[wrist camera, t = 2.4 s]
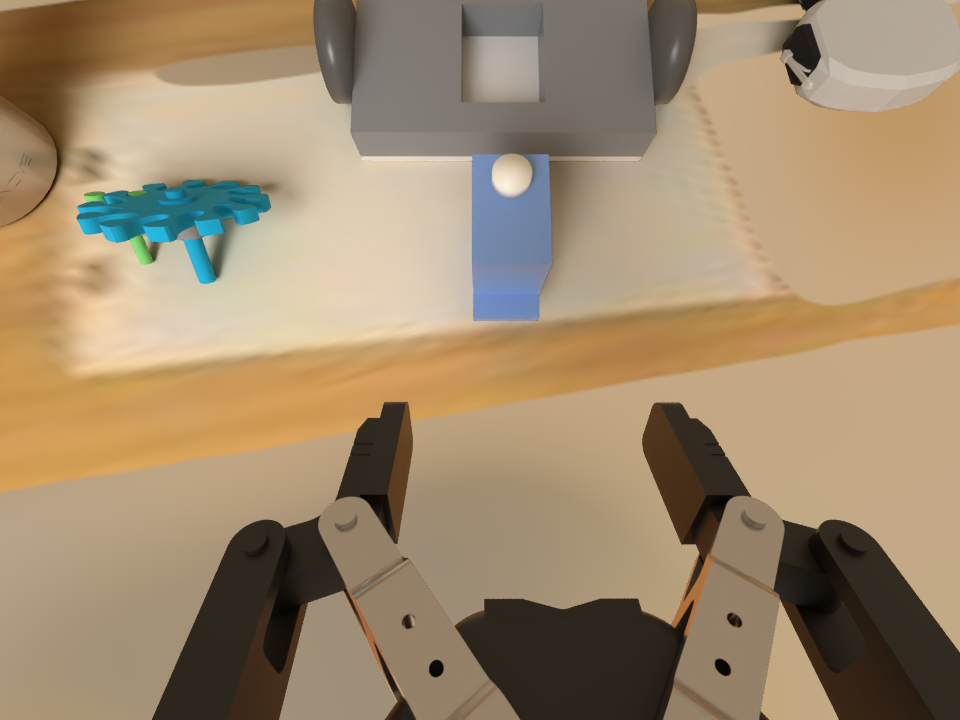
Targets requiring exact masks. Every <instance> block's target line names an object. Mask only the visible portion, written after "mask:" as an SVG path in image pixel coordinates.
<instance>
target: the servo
mask: <svg viewBox="0 0 960 720" xmlns="http://www.w3.org/2000/svg"><path fill="white" fill-rule="evenodd" d="M551 266H552V238H551V205H550V171H549V154H513V153H511V154H472V273H473V321H538V319H539V292H540V290H541V288H542V286H543V284H544V281H545V279H546V277H547V275H548V273H549V270H550V268H551Z"/></svg>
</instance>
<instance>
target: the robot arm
mask: <svg viewBox="0 0 960 720" xmlns="http://www.w3.org/2000/svg"><path fill="white" fill-rule="evenodd" d="M56 168H57V151H56V147H55V144H54V141H53V139H52V137H51V136H50V134H49V133H48V131H47V129H46V128H44V127H43V126H42V125H41V124H40V123H39V122H38V121H37V120H35V119H34V118H32V117H31V116H29V115H28V114H27V113H25V112H24V111H22V110H21V109H19V108H18V107H16V106H15V105H14V104H12V103H11V102H9V101H8V100H6V99H5V98H4V97H2V96H1V95H0V226H4V225H7V224H10V223H12V222H14V221H16V220H18V219H20V218H22V217H23V216H24V215H26V214H27V213H28V212H30V211H31V210H33V209H34V208H35V207H36V206H37V205H38V203H39V202H40V201H41V200H42V199H43V198H44V196H45V195H46V193H47V192H48V190H49V189H50V187H51V185H52V182H53V180H54V177H55V174H56ZM642 445H643V451H644V455H645V457H646V460H647V462H648V464H649V467H650V469H651V472H652V474H653V476H654V479H655V481H656V484H657V486H658V489H659V491H660V494H661V496H662V498H663V501H664V503H665V506H666V508H667V511H668V513H669V515H670V518H671V520H672V523H673V525H674V528H675V530H676V532H677V535H678V537H679V540H680V542H681V544H696V546H697V548H698V551H699V554H698V556H697V558H696V560H695V563H694V566H693V569H692V572H691V574H690V577H689V580H688V583H687V586H686V588H685V591H684V594H683V597H682V600H681V602H680V605H679V608H678V610H677V613H676V615H675V617H674V619H673V621H672V623H671V625H670V624H668V623H667V622H665V621H664V620H662V619H660V618H658V617H656V616H654V615H651V614H649V613H646V612H643V611H641V607H640V604H639V600H638V599H598V600H595V601H592V602H588V603H585V604H582V605H578V606H575V607H571V608H568V609H558V608H554V607H550V606H546V605H543V604H539V603H535V602H531V601H528V600H524V599H485V600H484V611H480V612H477V613H475V614H472V615H470V616H468V617H467V618H465V619H463V620H462V621H460V622H459V623H457V624H456V625H455V626H454V625H453V623H452V622H451V620H450V619H449V617H448V616H447V614H446V613H445V611H444V610H443V608H442V606H441V605H440V603H439V602H438V601H437V599H436V597H435V596H434V594H433V593H432V591H431V590H430V588H429V587H428V585H427V584H426V582H425V581H424V579H423V578H422V576H421V575H420V573H419V571H418V570H417V569H416V567H415V565H414V564H413V563H412V562H411V560H410V559H408V558H404V557H403V556H402V555H401V553H400V552H399V550H398V549H397V547H396V545H395V544H397V543H398V537H399V531H400V525H401V518H402V512H403V506H404V500H405V494H406V488H407V482H408V475H409V469H410V463H411V456H412V449H413V435H412V427H411V419H410V411H409V405H408V402H385V403H384V405H383V408H382V412H381V416H380V418H368V419H367V420H366V421H365V422H364V423H363V424H362V426H361V427H360V428H359V429H358V431H357V434H356V438H355V441H354V445H353V447H352V450H351V453H350V457H349V460H348V463H347V466H346V469H345V472H344V476H343V479H342V482H341V485H340V489H339V492H338V495H337V497H336V500H335V501H334V502H333V503H331V504H330V505H329V506H328V507H327V508H326V509H325V510H324V511H323V513H322V514H321V515H320V516H318V517H317V518H315V519H312V520H310V521H307V522H303V523H300V524H297V525H293V526H290V527H287V528H283V526H282V525H281V524H280V523H278V522H276V521H273V520H261V521H257V522H254V523H251V524H249V525H247V526H246V527H244V528H243V529H241V530H240V531H239V532H238V533H237V534H236V535H235V536H234V537H233V538H232V540H231V541H230V543H229V545H228V547H227V549H226V551H225V554H224V556H223V558H222V560H221V563H220V565H219V567H218V570H217V572H216V574H215V576H214V579H213V581H212V583H211V586H210V588H209V590H208V593H207V595H206V597H205V599H204V602H203V604H202V606H201V608H200V611H199V613H198V615H197V618H196V620H195V623H194V624H193V627H192V629H191V631H190V634H189V636H188V638H187V641H186V643H185V645H184V647H183V650H182V652H181V654H180V656H179V659H178V661H177V664H176V666H175V668H174V670H173V673H172V675H171V677H170V679H169V682H168V684H167V686H166V689H165V691H164V693H163V695H162V698H161V700H160V703H159V705H158V707H157V709H156V711H155V714H154V716H153V718H152V720H279V717H280V713H281V709H282V705H283V701H284V697H285V693H286V689H287V685H288V681H289V677H290V673H291V669H292V665H293V661H294V657H295V653H296V649H297V645H298V641H299V637H300V633H301V629H302V624H303V620H304V616H305V613H306V608H307V604H308V602H311V601H314V600H317V599H320V598H323V597H326V596H329V595H331V594H334V593H337V592H340V591H343V593H344V595H345V597H346V599H347V601H348V603H349V605H350V607H351V609H352V611H353V613H354V615H355V617H356V619H357V621H358V623H359V625H360V627H361V629H362V631H363V633H364V635H365V637H366V639H367V641H368V643H369V646H370V648H371V650H372V652H373V654H374V657H375V659H376V661H377V664H378V665H379V668H380V670H381V672H382V674H383V676H384V678H385V680H386V682H387V684H388V686H389V688H390V690H391V692H392V694H393V696H394V698H395V700H396V702H397V703H396V704H395V706H394V707H393V709H392V710H391V712H390V713H389V714H388V716H387V717H386V719H385V720H769V719H768V718H767V717H766V716H765V715H764V714H763V713H762V712H761V705H762V699H763V694H764V688H765V682H766V677H767V671H768V664H769V659H770V654H771V648H772V642H773V637H774V631H775V625H776V619H777V614H778V608H779V600H781V602H782V604H783V606H784V608H785V610H786V612H787V615H788V617H789V619H790V621H791V623H792V625H793V627H794V629H795V631H796V633H797V635H798V637H799V639H800V641H801V643H802V645H803V647H804V649H805V651H806V653H807V655H808V657H809V659H810V661H811V663H812V665H813V667H814V669H815V672H816V674H817V676H818V678H819V680H820V682H821V684H822V686H823V688H824V690H825V692H826V694H827V696H828V698H829V700H830V702H831V704H832V706H833V708H834V710H835V712H836V714H837V716H838V718H839V720H960V652H959V651H958V649H957V648H956V647H955V645H954V644H953V643H952V642H951V640H950V639H949V637H948V636H947V635H946V633H945V632H944V631H943V629H942V628H941V627H940V625H939V624H938V623H937V621H936V620H935V619H934V617H933V616H932V615H931V613H930V612H929V611H928V609H927V608H926V607H925V605H924V604H923V603H922V601H921V600H920V599H919V597H918V596H917V595H916V593H915V592H914V591H913V589H912V588H911V586H910V585H909V584H908V583H907V581H906V580H905V578H904V577H903V576H902V575H901V573H900V572H899V570H898V569H897V568H896V566H895V565H894V564H893V562H892V561H891V560H890V558H889V557H888V556H887V554H886V553H885V552H884V550H883V549H882V548H881V546H880V545H879V544H878V543H877V542H876V540H875V539H874V538H872V537H871V536H870V535H869V534H868V533H866V532H865V531H864V530H862V529H860V528H859V527H857V526H855V525H853V524H850V523H847V522H845V521H841V520H827V521H825V522H823V523H822V524H821V525H820V526H819V527H818V529H814V528H810V527H807V526H803V525H799V524H796V523H792V522H788V521H785V520H782V519H781V518H780V516H779V515H778V514H777V513H776V512H775V511H774V510H773V509H772V508H771V507H770V506H768V505H767V504H765V503H764V502H762V501H760V500H758V499H755V498H752V497H751V495H750V494H749V492H748V491H747V489H746V487H745V486H744V484H743V483H742V481H741V479H740V477H739V476H738V474H737V472H736V471H735V469H734V468H733V466H732V464H731V463H730V461H729V459H728V458H727V457H725V453H724V451H723V450H722V448H721V446H719V443H718V442H717V440H716V439H715V437H714V435H713V433H712V432H711V430H710V429H709V428H708V427H706V426H705V425H704V424H703V423H702V422H701V421H699V420H698V419H690V417H689V416H688V414H687V412H686V410H685V409H684V407H683V405H682V404H680V403H655V404H654V405H653V407H652V409H651V413H650V415H649V419H648V422H647V425H646V428H645V431H644V434H643V439H642Z"/></svg>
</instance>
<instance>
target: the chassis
mask: <svg viewBox="0 0 960 720" xmlns="http://www.w3.org/2000/svg"><path fill="white" fill-rule="evenodd" d="M313 15H314V33H315V41H316V48H317V53H318V59H319V63H320V67H321V71H322V75H323V78H324V81H325V84H326V87H327V89H328V92H329V94H330V96H331V97H332V99H333V100H334V101H335V102H336V103H338V104H352V112H351V135H352V137H353V139H354V142H355V144H356V146H357V148H358V151H359V153H360V155H361V158H362V160H363V161H472V154H511V153H513V154H549V161H640V159H641V157H642V156H643V154H644V152H645V151H646V149H647V147H648V146H649V144H650V143H651V141H652V139H653V138H654V136H655V134H656V133H657V132H656V119H655V105H654V104H667V103H668V102H670V101H671V100H672V99H673V98H674V96H675V95H676V93H677V92H678V90H679V88H680V86H681V84H682V82H683V80H684V77H685V75H686V72H687V69H688V66H689V63H690V59H691V56H692V52H693V47H694V42H695V36H696V27H697V8H696V3H695V0H655V1H654V3H653V4H652V6H651V8H650V10H649V12H648V10H647V0H357V10H356V11H355V8H354V5H353V2H352V0H315V2H314V14H313Z"/></svg>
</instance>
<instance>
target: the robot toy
mask: <svg viewBox="0 0 960 720" xmlns="http://www.w3.org/2000/svg"><path fill="white" fill-rule="evenodd" d="M799 2H800V5H801V7H802V9H803V10H805V11H806V13H805V15H804V16H803V18H802V19H801V20H800V22H799V23H798V24H797V26H796V27H795V28H794V30H793V31H792V33H791V34H790V35H789V37H788V39H787V40H786V42H785V43H784V44H783V51H782V55H781V57H780V60H781V61H782V62H783V63H785V66H786V69H787V72H788V76H789V79H790V82H791V84H793V85H794V87H795V90H796V93H797V94H798V95H799V96H801V97H803V98H804V99H806V100H807V101H809V102H811V103H812V104H814V105H816V106H820V107H824V108H829V109H835V110H842V111H843V110H844V111H858V112H881V111H886V110H891V109H895V108H900V107H905V106H908V105H910V104H913V103H916V102H919V101H921V100H923V99H924V98H925V97H927V96H928V95H929V94H930V93H932V92H933V91H934V90H935V89H936V88H938V87H939V86H940V85H942V84H943V83H944V82H945V81H946V80H948V79H949V78H950V77H951V76H953V74H955V73H956V72H957V71H958V70H959V69H960V27H959V25H958V22H957V20H956V17H955V15H954V13H953V11H952V8H951V6H950V5H949V4H947V3H946V2H944V1H942V0H799Z"/></svg>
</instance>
